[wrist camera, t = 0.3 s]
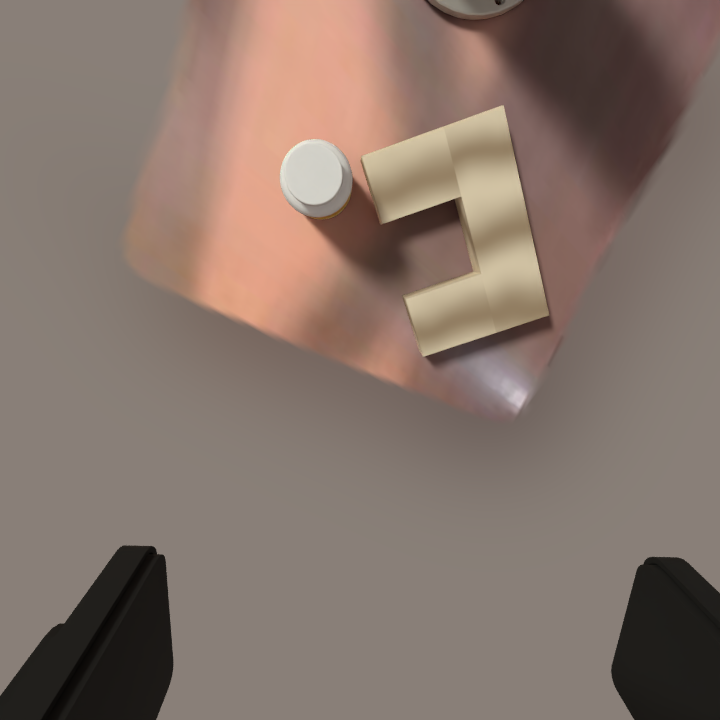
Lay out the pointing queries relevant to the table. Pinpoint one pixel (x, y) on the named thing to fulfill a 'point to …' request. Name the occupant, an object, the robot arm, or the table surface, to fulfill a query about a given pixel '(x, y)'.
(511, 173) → the notched board
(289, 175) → the supplement bottle
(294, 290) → the table surface
